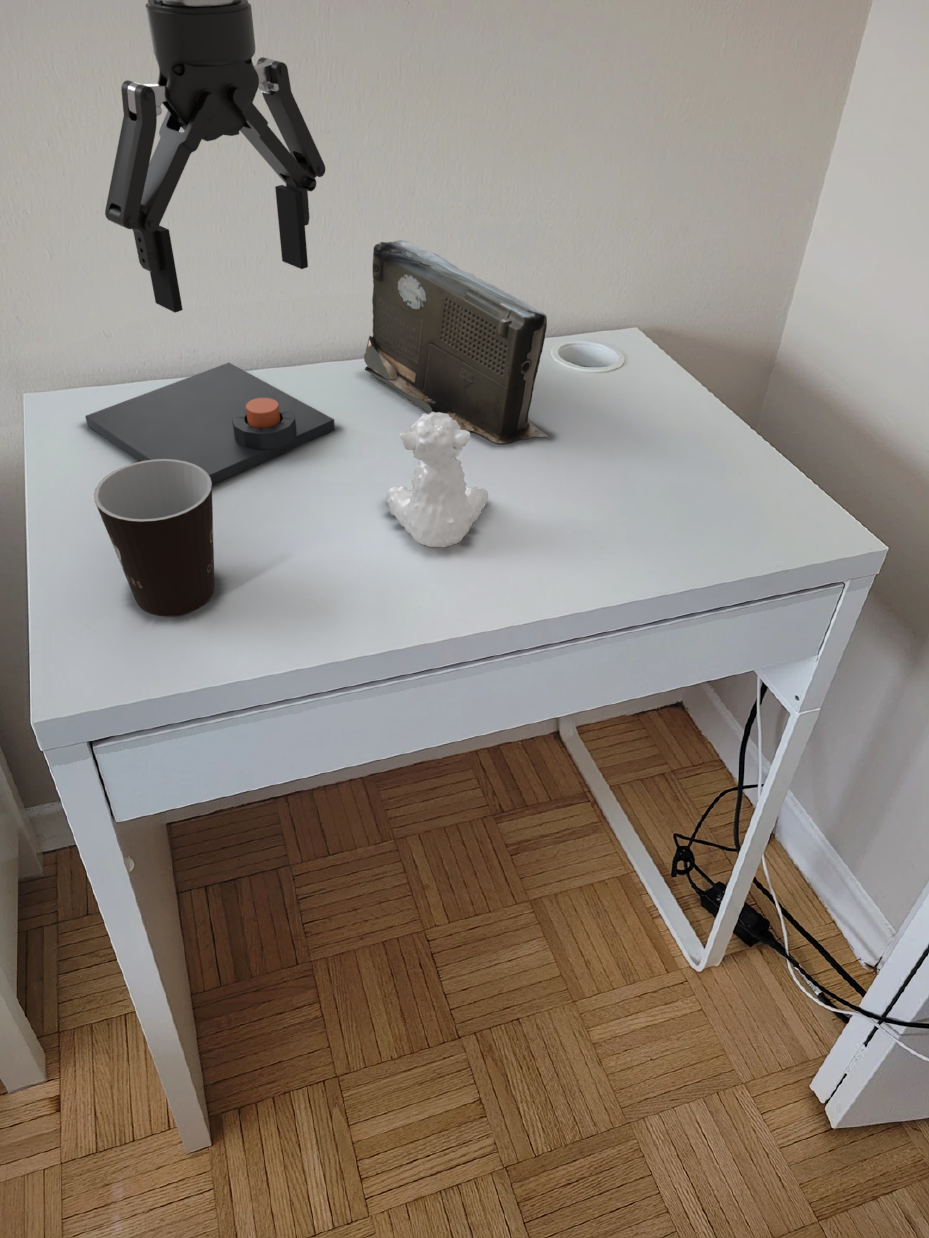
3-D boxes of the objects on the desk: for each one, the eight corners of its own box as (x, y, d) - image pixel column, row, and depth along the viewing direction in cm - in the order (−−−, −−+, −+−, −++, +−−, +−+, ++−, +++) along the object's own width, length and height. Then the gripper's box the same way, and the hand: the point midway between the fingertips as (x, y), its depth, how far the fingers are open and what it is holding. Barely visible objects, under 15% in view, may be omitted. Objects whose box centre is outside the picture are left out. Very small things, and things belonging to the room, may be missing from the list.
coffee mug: (216, 627, 75) (197, 523, 69) (107, 623, 75) (78, 519, 69) (244, 541, 84) (230, 442, 78) (146, 537, 84) (124, 437, 77)
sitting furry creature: (486, 501, 90) (494, 386, 82) (494, 556, 84) (503, 436, 76) (387, 501, 90) (384, 385, 82) (386, 557, 83) (384, 436, 75)
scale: (193, 498, 89) (188, 470, 87) (87, 426, 98) (80, 399, 96) (338, 431, 99) (337, 405, 97) (230, 372, 108) (226, 347, 106)
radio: (548, 436, 100) (563, 298, 90) (483, 460, 96) (492, 318, 86) (422, 354, 114) (423, 226, 104) (360, 372, 110) (356, 240, 100)
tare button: (261, 432, 93) (259, 416, 92) (241, 420, 95) (239, 404, 94) (286, 421, 95) (285, 405, 94) (266, 410, 97) (264, 394, 96)
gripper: (69, 23, 60) (136, 341, 74) (359, -13, 74) (368, 259, 88) (8, 6, 63) (83, 313, 77) (295, -25, 78) (314, 238, 92)
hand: (235, 285), depth 83 cm, fingers open, 13 cm apart
